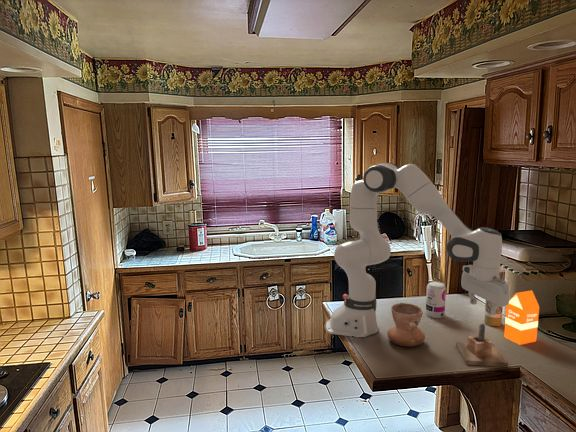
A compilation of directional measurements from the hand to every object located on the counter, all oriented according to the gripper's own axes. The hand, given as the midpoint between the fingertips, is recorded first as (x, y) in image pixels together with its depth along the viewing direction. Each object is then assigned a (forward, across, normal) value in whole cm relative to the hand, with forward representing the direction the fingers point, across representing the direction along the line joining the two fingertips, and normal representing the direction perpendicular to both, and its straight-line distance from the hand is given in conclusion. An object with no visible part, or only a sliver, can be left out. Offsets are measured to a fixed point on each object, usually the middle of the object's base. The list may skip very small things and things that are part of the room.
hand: (482, 308), depth 155 cm
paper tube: (+19, +20, -26) cm, 38 cm away
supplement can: (+20, +36, -8) cm, 42 cm away
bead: (+17, -1, 0) cm, 17 cm away
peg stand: (+18, -1, 0) cm, 18 cm away
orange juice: (+19, +5, -25) cm, 32 cm away
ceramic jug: (+19, +18, +20) cm, 33 cm away
